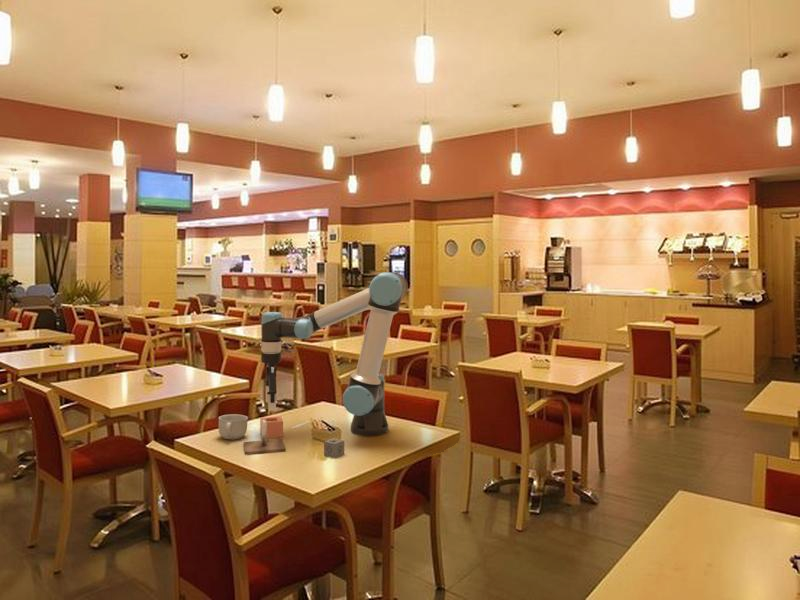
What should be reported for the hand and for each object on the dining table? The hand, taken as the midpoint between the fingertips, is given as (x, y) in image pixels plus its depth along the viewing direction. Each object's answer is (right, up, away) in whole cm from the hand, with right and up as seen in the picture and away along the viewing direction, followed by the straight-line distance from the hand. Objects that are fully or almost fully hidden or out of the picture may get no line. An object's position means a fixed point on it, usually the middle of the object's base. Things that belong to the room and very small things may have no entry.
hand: (270, 406), depth 226 cm
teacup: (-14, -12, -5) cm, 19 cm away
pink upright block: (0, -11, +1) cm, 11 cm away
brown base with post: (+1, -12, -16) cm, 20 cm away
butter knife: (+12, -10, +22) cm, 27 cm away
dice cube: (+27, -13, -23) cm, 38 cm away
